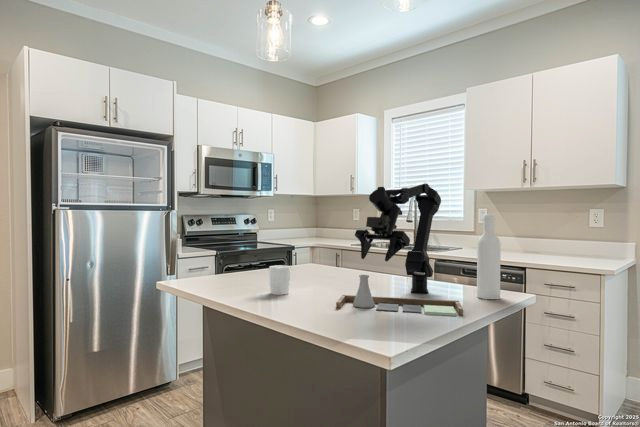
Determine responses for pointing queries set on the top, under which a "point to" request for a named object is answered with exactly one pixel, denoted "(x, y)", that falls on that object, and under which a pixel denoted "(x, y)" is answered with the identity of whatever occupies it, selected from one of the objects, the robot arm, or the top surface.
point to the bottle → (488, 261)
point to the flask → (363, 294)
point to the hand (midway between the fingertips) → (373, 259)
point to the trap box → (403, 303)
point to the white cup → (279, 279)
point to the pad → (439, 310)
